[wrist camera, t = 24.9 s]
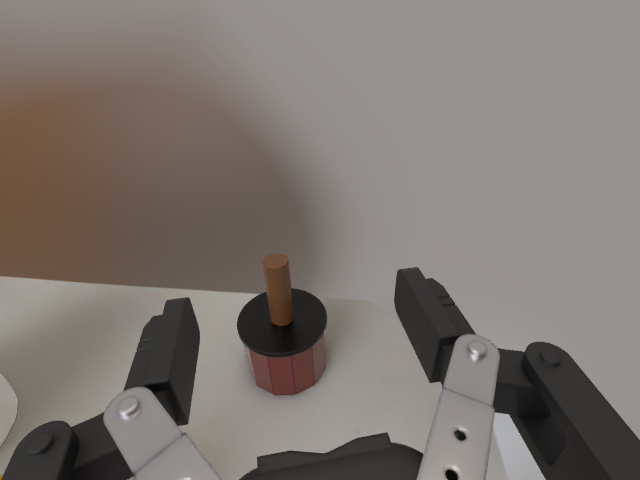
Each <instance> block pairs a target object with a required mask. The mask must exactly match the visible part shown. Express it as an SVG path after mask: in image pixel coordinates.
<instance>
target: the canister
mask: <svg viewBox="0 0 640 480" xmlns="http://www.w3.org/2000/svg"><path fill="white" fill-rule="evenodd" d="M17 407H18V399H17V397H16V394H15V392H14V390H13V388H12V387H11V386H10V384H9V383H8V382H7V381H6V379H5V378H4V377H3V376H2V374H1V373H0V446H1V445H2V444H3V442H4V441H5V439H6V437H7V435H8V433H9V431H10V429H11V427H12V425H13V423H14V421H15V419H16V415H17Z"/></svg>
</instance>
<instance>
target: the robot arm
mask: <svg viewBox="0 0 640 480" xmlns="http://www.w3.org/2000/svg"><path fill="white" fill-rule="evenodd" d="M394 302H395V308H396V312H397V314H398V316H399V319H400V321H401V323H402V325H403V327H404V329H405V331H406V334H407V336H408V338H409V340H410V342H411V344H412V346H413V348H414V350H415V352H416V355H417V357H418V359H419V361H420V363H421V365H422V367H423V369H424V371H425V373H426V376H427V378H428V380H429V382H430V383H434V382H439V381H440V382H441V384H442V386H443V387H442V391H441V394H440V398H439V401H438V405H437V408H436V412H435V416H434V419H433V423H432V426H431V430H430V434H429V437H428V441H427V444H426V448H425V451H424V454H422V453H421V452H419V451H417V450H415V449H413V448H411V447H408V446H406V445H402V444H398V443H391V442H390V439H389V435H388V432H387V433H382V434H377V435H371V436H366V437H361V438H356V439H354V440H352V441H350V442H348V443H346V444H344V445H342V446H340V447H338V448H336V449H334V450H332V451H330V452H327V453H312V452H300V451H286V452H281V453H275V454H270V455H265V456H260V457H257V467H258V468H256V469H254V470H252V471H250V472H249V473H247V474H246V475H244V476H243V477H242V478H240V479H239V480H486V473H487V465H488V458H489V451H490V444H491V437H492V429H493V422H494V415H495V412H497V413H504V414H509V415H510V417H511V418H512V420H513V422H514V424H515V426H516V427H517V429H518V431H519V433H520V435H521V436H522V438H523V440H524V442H525V443H526V445H527V447H528V449H529V451H530V452H531V454H532V456H533V458H534V459H535V461H536V463H537V465H538V466H539V468H540V470H541V472H542V474H543V475H544V477H545V479H546V480H640V440H639V439H638V438H637V436H636V435H635V434H634V433H633V432H632V430H631V429H630V428H629V427H628V426H627V424H626V423H625V422H624V421H623V419H622V418H621V417H620V416H619V415H618V413H617V412H616V411H615V410H614V409H613V407H612V406H611V405H610V404H609V403H608V401H607V400H606V399H605V398H604V396H603V395H602V394H601V393H600V392H599V391H598V390H597V388H596V387H595V386H594V384H593V383H592V382H591V381H590V380H589V378H588V377H587V376H586V375H585V374H584V372H583V371H582V370H581V369H580V368H579V366H578V365H577V364H576V363H575V362H574V360H573V359H572V358H571V357H570V355H569V354H568V353H566V352H565V351H564V350H562V349H561V348H559V347H557V346H555V345H553V344H550V343H545V342H534V343H531V344H530V345H528V347H527V348H526V351H525V352H521V351H513V350H505V349H499V348H497V347H496V346H495V345H494V344H493V343H492V342H491V341H490V340H488V339H486V338H485V337H482V336H479V335H476V334H475V332H474V331H473V329H472V328H471V326H470V325H469V323H468V322H467V320H466V319H465V317H464V316H463V315H462V313H461V312H460V310H459V309H458V307H457V306H456V305H455V303H454V301H453V300H452V298H450V295H449V294H448V293H447V291H446V290H445V288H444V287H443V286H442V285H441V284H440V283H438V282H437V281H435V280H434V279H433V278H430V279H425V277H424V276H423V274H422V273H421V271H420V270H419V268H417V267H414V268H407V269H400V270H398V272H397V278H396V287H395V298H394ZM199 344H200V332H199V326H198V323H197V320H196V317H195V314H194V310H193V307H192V304H191V301H190V299H189V298H188V297H187V298H179V299H172V300H167V301H166V303H165V307H164V311H163V314H162V315H159V316H153V317H152V318H151V319H150V321H149V322H148V323H147V324H146V326H145V327H144V328H143V332H142V335H141V338H140V342H139V344H138V347H137V352H136V353H135V357H134V360H133V363H132V366H131V369H130V372H129V375H128V379H127V382H126V385H125V388H124V391H123V392H122V393H120V394H119V395H117V396H116V397H115V398H114V399H113V400H112V401H111V402H110V403H109V405H108V406H107V408H106V410H105V412H103V413H102V414H100V415H98V416H96V417H94V418H91V419H89V420H87V421H85V422H82V423H80V424H78V425H75V426H73V427H70V425H69V424H68V423H66V422H64V421H52V422H48V423H46V424H43V425H41V426H39V427H37V428H36V429H34V430H33V431H31V432H30V433H29V434H28V435H27V436H26V437H24V438H23V440H22V441H21V442H20V443H19V444H18V446H17V447H16V449H15V451H14V453H13V455H12V457H11V459H10V462H9V464H8V466H7V468H6V470H5V473H4V475H3V477H2V479H1V480H127V479H129V478H131V477H133V476H134V478H135V480H222V479H221V478H220V476H219V475H218V474H217V473H216V471H215V470H214V469H213V467H212V466H211V465H210V463H209V462H208V461H207V459H206V458H205V457H204V455H203V454H202V453H201V452H200V450H199V449H198V448H197V446H196V445H195V444H194V442H193V441H192V440H191V438H190V437H189V436H188V435H187V434H186V433H183V432H182V431H181V430H180V429H179V427H178V426H180V425H186V424H188V421H189V414H190V407H191V400H192V393H193V386H194V379H195V372H196V365H197V358H198V351H199Z"/></svg>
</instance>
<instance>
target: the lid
mask: <svg viewBox="0 0 640 480" xmlns="http://www.w3.org/2000/svg"><path fill="white" fill-rule="evenodd" d="M262 264H263V271H264V277H265V284H266V291H267V292H265V293H262V294H260V295H258V296H256V297H255V298H253V299H252V300H251V301H249V302H248V303H247V304H246V305H245V306H244V308H243V309H242V310H241V312H240V314H239V317H238V321H237V329H238V334H239V337H240V339H241V341H242V342H243V344H244V345H245V346H246V347H247V348H249V349H250V350H251V351H253V352H255V353H257V354H260V355H263V356H267V357H287V356H292V355H296V354H299V353H301V352H303V351H305V350H307V349H309V348H310V347H312V346H313V345H314V344H315V343H317V342H318V340H319V339H320V338H321V337H322V335H323V333H324V331H325V329H326V325H327V313H326V310H325V307H324V305H323V304H322V302H321V301H320V300H319V299H318V298H317V297H315V296H314V295H312V294H310V293H308V292H306V291H302V290H299V289H293V288H291V282H290V272H289V262H288V257H287V256H286V255H285V254H282V253H272V254H269V255H267V256H266V257H265V258H264V259H263V261H262Z"/></svg>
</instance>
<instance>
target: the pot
mask: <svg viewBox="0 0 640 480" xmlns="http://www.w3.org/2000/svg"><path fill="white" fill-rule="evenodd" d="M244 347H245V352H246V357H247V361H248V366H249V370H250V373H251V375H252V377H253V379H254V381H255V383H256V385H257V386H259V387H261V388H262V389H264V390H266V391H268V392H270V393H272V394H274V395H295V394H298V393H299V392H301V391H303V390H305V389H307V388H309V387H311V386H313V385H314V384H315V383H316V382H317V380H318V379H319V377H320V376H321V374H322V373H323V371H324V370H325V334H324V333H323V335H322V337H321V338H320V339H319V340H318V342H317V343H315V344H314V345H313V346H312V347H310V348H309V349H307V350H305V351H303V352H301V353H299V354H296V355H292V356H287V357H267V356H263V355H260V354H257V353H255V352H253V351H251V350H250V349H249V348H247V347H246V346H245V345H244Z"/></svg>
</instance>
